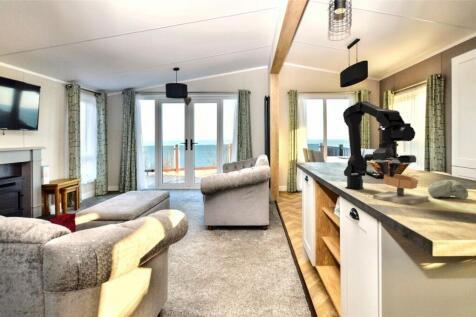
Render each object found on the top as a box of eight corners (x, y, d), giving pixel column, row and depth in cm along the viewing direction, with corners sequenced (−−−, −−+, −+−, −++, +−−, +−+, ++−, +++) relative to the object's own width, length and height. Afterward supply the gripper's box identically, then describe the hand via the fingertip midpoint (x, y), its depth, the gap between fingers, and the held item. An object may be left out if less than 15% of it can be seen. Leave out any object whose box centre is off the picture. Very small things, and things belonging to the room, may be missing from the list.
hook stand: (373, 198, 114) (373, 181, 114) (389, 194, 122) (389, 178, 121) (412, 205, 102) (413, 186, 102) (428, 200, 109) (428, 182, 109)
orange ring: (378, 182, 113) (380, 175, 113) (392, 179, 119) (393, 172, 119) (407, 190, 104) (408, 182, 104) (420, 186, 111) (422, 179, 110)
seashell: (432, 181, 110) (427, 174, 119) (429, 200, 112) (424, 192, 121) (473, 185, 105) (464, 178, 114) (468, 205, 107) (460, 197, 116)
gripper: (356, 141, 118) (356, 178, 119) (403, 141, 102) (402, 183, 103) (371, 141, 124) (370, 176, 125) (417, 141, 108) (416, 180, 109)
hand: (388, 179), depth 115 cm, fingers closed on orange ring, 2 cm apart
